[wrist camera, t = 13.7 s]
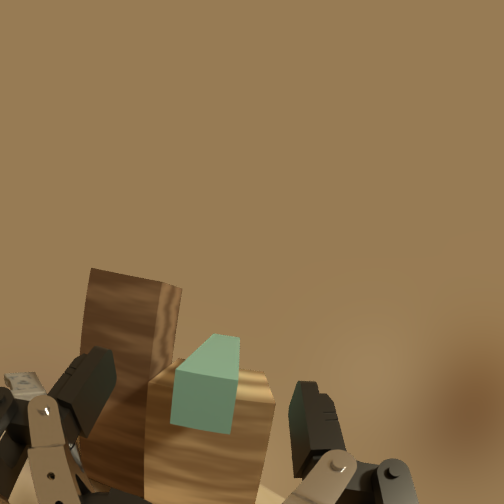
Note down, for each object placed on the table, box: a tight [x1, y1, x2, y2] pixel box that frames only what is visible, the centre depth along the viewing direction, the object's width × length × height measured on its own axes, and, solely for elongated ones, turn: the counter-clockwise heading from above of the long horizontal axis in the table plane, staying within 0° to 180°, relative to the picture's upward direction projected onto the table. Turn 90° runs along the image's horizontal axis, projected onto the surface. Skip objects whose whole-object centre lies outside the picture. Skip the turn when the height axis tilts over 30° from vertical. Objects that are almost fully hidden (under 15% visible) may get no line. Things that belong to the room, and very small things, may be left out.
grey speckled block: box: [4, 372, 47, 401], centre depth 32 cm, size 10×8×10 cm
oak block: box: [144, 358, 276, 504], centre depth 28 cm, size 14×12×22 cm
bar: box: [170, 334, 240, 434], centre depth 29 cm, size 26×4×4 cm, turn 2°
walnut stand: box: [80, 268, 182, 498], centre depth 35 cm, size 12×10×32 cm
